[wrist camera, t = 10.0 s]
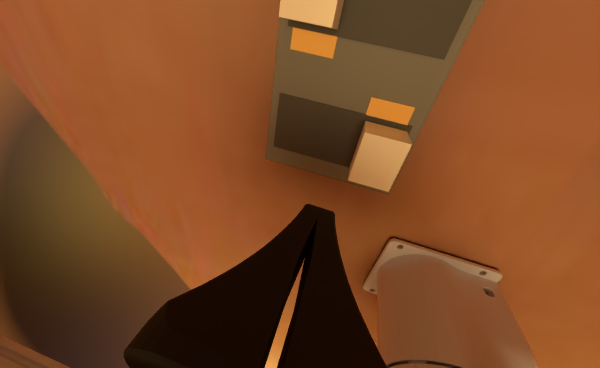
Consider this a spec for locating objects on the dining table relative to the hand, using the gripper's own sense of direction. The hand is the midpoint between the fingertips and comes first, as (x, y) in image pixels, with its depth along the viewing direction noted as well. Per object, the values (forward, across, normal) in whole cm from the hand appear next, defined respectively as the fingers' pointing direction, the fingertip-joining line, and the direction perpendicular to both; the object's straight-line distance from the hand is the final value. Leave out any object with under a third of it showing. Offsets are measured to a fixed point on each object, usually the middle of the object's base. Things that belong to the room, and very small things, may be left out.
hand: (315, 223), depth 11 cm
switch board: (+8, 0, -6) cm, 10 cm away
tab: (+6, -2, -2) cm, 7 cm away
